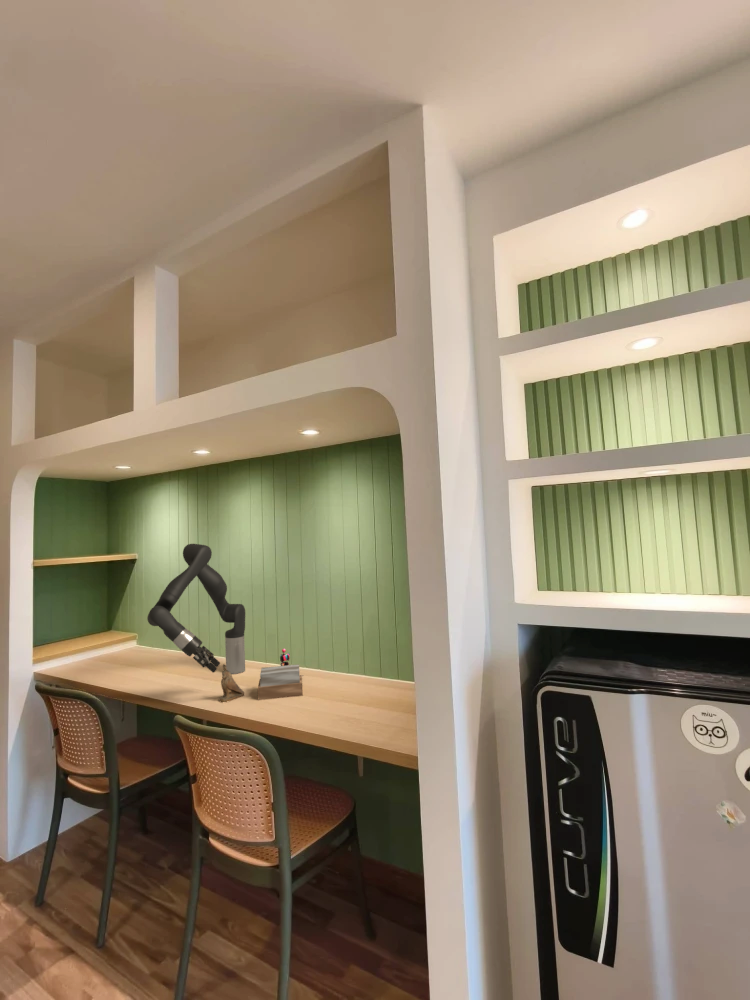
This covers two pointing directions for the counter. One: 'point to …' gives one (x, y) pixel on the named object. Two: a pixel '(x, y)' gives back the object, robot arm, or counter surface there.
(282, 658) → the statue
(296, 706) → the counter surface
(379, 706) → the counter surface
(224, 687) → the brown carved statuette
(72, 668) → the counter surface
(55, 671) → the counter surface
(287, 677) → the grey and brown block
